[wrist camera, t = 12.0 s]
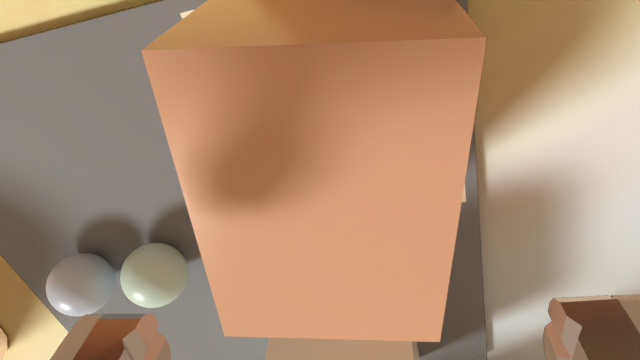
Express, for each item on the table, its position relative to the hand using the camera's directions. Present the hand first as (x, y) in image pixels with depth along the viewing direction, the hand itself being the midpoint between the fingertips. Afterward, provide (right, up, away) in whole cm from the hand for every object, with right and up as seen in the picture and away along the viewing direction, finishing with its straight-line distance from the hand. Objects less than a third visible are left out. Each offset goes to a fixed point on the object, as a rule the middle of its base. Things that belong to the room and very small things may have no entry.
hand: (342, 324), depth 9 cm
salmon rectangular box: (0, +6, +7) cm, 9 cm away
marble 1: (-12, -1, +13) cm, 18 cm away
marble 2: (-8, -1, +13) cm, 15 cm away
